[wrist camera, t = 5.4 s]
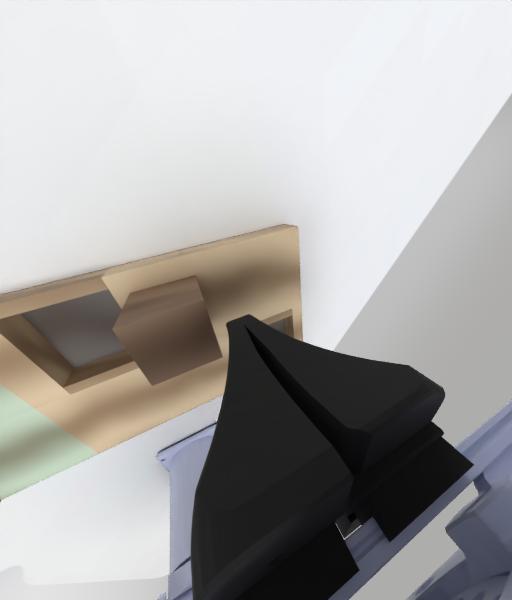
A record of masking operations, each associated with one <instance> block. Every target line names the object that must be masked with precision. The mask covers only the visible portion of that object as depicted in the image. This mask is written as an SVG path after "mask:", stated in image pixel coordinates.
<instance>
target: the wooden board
mask: <svg viewBox="0 0 512 600" xmlns="http://www.w3.org/2000/svg"><path fill="white" fill-rule="evenodd" d="M194 275H195V276H196V279H197V282H198V285H199V288H200V290H201V293H202V296H203V299H204V302H205V305H206V308H207V311H208V314H209V317H210V320H211V323H212V326H213V329H214V332H215V335H216V338H217V340H218V343H219V346H220V349H221V352H222V355H223V358H220V359H218V360H215V361H213V362H210V363H208V364H206V365H203V366H201V367H198V368H196V369H193V370H191V371H188V372H186V373H184V374H181V375H179V376H176V377H174V378H171V379H169V380H166V381H164V382H162V383H159V384H157V385H154V386H152V385H151V384H150V382H149V381H148V380H147V378H146V377H145V375H144V374H143V373H142V371H141V370H140V368H139V367H138V365H137V364H136V363H135V361H134V360H133V358H132V357H131V355H130V354H129V353H128V351H127V350H126V348H125V347H124V345H123V344H122V343H121V341H120V340H119V338H118V337H117V336H116V334H115V333H114V331H113V330H112V329H113V326H114V324H115V322H116V320H117V318H118V316H119V314H120V312H121V310H122V308H123V306H124V304H125V302H126V300H127V298H128V296H129V294H130V293H132V292H136V291H139V290H143V289H146V288H150V287H154V286H157V285H161V284H165V283H168V282H172V281H176V280H179V279H183V278H186V277H190V276H194ZM247 314H250V315H252V316H254V317H255V318H257V319H259V320H260V321H262V322H264V323H265V324H267V325H269V326H271V327H272V328H274V329H276V330H278V331H280V332H282V333H284V334H286V335H288V336H291V337H293V338H295V339H297V340H300V341H303V334H302V309H301V284H300V259H299V234H298V226H293V225H287V224H283V225H279V226H275V227H271V228H267V229H263V230H259V231H255V232H251V233H247V234H243V235H239V236H235V237H231V238H227V239H223V240H219V241H215V242H211V243H207V244H203V245H199V246H195V247H191V248H187V249H183V250H179V251H175V252H171V253H167V254H163V255H159V256H155V257H151V258H147V259H143V260H139V261H135V262H131V263H127V264H123V265H119V266H115V267H111V268H107V269H103V270H99V271H95V272H91V273H87V274H83V275H79V276H75V277H71V278H67V279H63V280H59V281H55V282H51V283H47V284H43V285H39V286H35V287H31V288H27V289H23V290H19V291H15V292H11V293H7V294H3V295H0V502H1V500H2V499H4V498H6V497H9V496H11V495H13V494H15V493H17V492H19V491H21V490H23V489H25V488H28V487H30V486H32V485H34V484H36V483H38V482H40V481H42V480H44V479H46V478H49V477H51V476H53V475H55V474H57V473H59V472H61V471H63V470H65V469H68V468H70V467H72V466H74V465H76V464H78V463H80V462H82V461H84V460H86V459H89V458H91V457H93V456H95V455H97V454H99V453H101V452H103V451H105V450H108V449H110V448H112V447H114V446H116V445H118V444H120V443H122V442H124V441H126V440H129V439H131V438H133V437H135V436H137V435H139V434H141V433H143V432H145V431H147V430H150V429H152V428H154V427H156V426H158V425H160V424H162V423H164V422H166V421H169V420H171V419H173V418H175V417H177V416H179V415H181V414H183V413H185V412H187V411H190V410H192V409H194V408H196V407H198V406H200V405H202V404H204V403H206V402H209V401H211V400H213V399H215V398H217V397H219V396H221V395H223V394H224V390H225V385H226V379H227V371H228V360H229V336H228V331H227V327H226V323H227V322H229V321H231V320H234V319H237V318H239V317H242V316H245V315H247Z"/></svg>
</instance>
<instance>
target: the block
mask: <svg viewBox="0 0 512 600" xmlns="http://www.w3.org/2000/svg"><path fill="white" fill-rule="evenodd" d="M112 330H113V331H114V333H115V334H116V336H117V337H118V338H119V340H120V341H121V343H122V344H123V345H124V347H125V348H126V350H127V351H128V353H129V354H130V355H131V357H132V358H133V360H134V361H135V363H136V364H137V365H138V367H139V368H140V370H141V371H142V373H143V374H144V375H145V377H146V378H147V380H148V381H149V382H150V384H151V385H152V386H154V385H157V384H159V383H162V382H164V381H166V380H169V379H171V378H174V377H176V376H179V375H181V374H184V373H186V372H188V371H191V370H193V369H196V368H198V367H201V366H203V365H206V364H208V363H210V362H213V361H215V360H218V359H220V358H223V355H222V352H221V349H220V346H219V343H218V340H217V338H216V335H215V332H214V329H213V326H212V323H211V320H210V317H209V314H208V311H207V308H206V305H205V302H204V299H203V296H202V293H201V290H200V288H199V285H198V282H197V279H196V276H195V275H194V276H190V277H186V278H183V279H179V280H176V281H172V282H168V283H165V284H161V285H157V286H154V287H150V288H146V289H143V290H139V291H136V292H132V293H130V294H129V296H128V298H127V300H126V302H125V304H124V306H123V308H122V310H121V312H120V314H119V316H118V318H117V320H116V322H115V324H114V326H113V329H112Z"/></svg>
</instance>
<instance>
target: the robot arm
mask: <svg viewBox="0 0 512 600" xmlns="http://www.w3.org/2000/svg"><path fill="white" fill-rule="evenodd" d="M226 327H227V331H228V336H229V360H228V371H227V379H226V385H225V390H224V395H223V400H222V405H221V409H220V413H219V417H218V421H217V424H215V425H213V426H211V427H209V428H207V429H205V430H203V431H201V432H199V433H197V434H195V435H194V436H192V437H190V438H188V439H186V440H184V441H182V442H180V443H178V444H176V445H174V446H172V447H170V448H168V449H166V450H164V451H162V452H160V453H159V454H158V455H157V461H158V462H159V463H161V464H162V465H163V466H164V467H165V468H166V469H167V470H168V471H169V472H170V575H169V578H168V600H349V599H350V598H351V597H352V596H353V595H354V594H355V593H356V592H357V591H358V590H359V589H360V588H361V587H362V586H363V585H364V584H366V582H367V581H369V580H370V579H371V578H372V577H373V576H374V575H375V574H376V573H377V572H378V571H379V570H380V569H381V568H382V567H383V566H384V565H385V564H386V563H387V562H388V561H390V560H391V558H393V557H394V556H395V555H396V554H397V553H398V552H399V551H400V550H401V549H402V548H403V547H404V546H405V545H406V544H407V543H409V542H410V540H412V539H413V538H414V537H415V536H416V535H417V534H418V533H419V532H420V531H421V530H422V529H423V528H424V527H425V526H426V525H427V524H428V523H429V522H431V521H432V519H434V518H435V517H436V516H437V515H438V514H439V513H440V512H441V511H442V510H443V509H444V508H445V507H446V506H447V505H448V504H449V503H450V502H451V501H453V500H454V499H455V498H456V497H457V496H458V495H459V494H460V493H461V492H462V491H463V490H464V489H465V488H466V487H467V486H468V485H469V484H470V483H471V482H472V481H474V485H475V487H476V489H477V490H478V493H479V496H477V497H476V498H475V499H474V500H472V501H471V502H470V503H469V504H467V505H466V506H465V507H463V508H462V509H461V510H460V511H459V512H458V513H457V514H456V515H455V516H454V517H453V519H452V520H451V521H450V522H449V524H448V525H447V526H446V527H445V529H446V533H447V534H448V535H449V536H450V538H451V539H452V540H453V541H454V542H455V543H456V545H457V546H458V547H459V549H458V550H457V551H456V552H455V553H454V554H453V555H452V556H451V557H450V558H449V559H448V560H447V561H446V562H445V563H444V564H443V565H442V566H441V567H440V568H438V569H437V570H436V571H435V572H434V573H433V574H432V575H431V576H430V577H429V578H428V579H427V580H426V581H425V582H424V583H423V584H422V585H421V586H420V587H419V588H418V589H417V590H415V592H413V593H412V594H411V595H410V596H409V597H408V598H407V599H406V600H512V400H511V401H509V402H508V404H506V405H505V406H503V407H502V408H501V409H500V410H499V411H498V412H496V413H495V414H494V415H493V416H492V417H490V418H489V419H488V420H487V421H486V422H485V423H483V424H482V425H481V426H480V427H479V428H477V429H476V430H475V431H474V432H473V433H471V434H470V435H469V436H468V437H467V438H466V439H464V440H463V441H462V442H461V443H459V444H458V445H457V446H456V447H455V448H454V447H453V446H452V445H451V444H449V443H448V442H447V441H446V440H445V439H443V438H442V437H441V436H442V435H443V434H444V432H443V431H442V430H441V429H440V428H439V427H438V426H437V425H435V424H434V423H433V422H432V421H431V420H432V419H433V417H434V416H435V414H436V412H437V411H438V409H439V407H440V406H441V404H442V402H443V400H444V398H445V392H444V389H443V388H442V387H440V386H439V385H438V384H436V383H435V382H433V381H432V380H430V379H429V378H427V377H425V376H424V375H423V374H421V373H419V372H418V371H417V370H415V369H413V368H412V367H410V366H409V365H402V364H395V363H389V362H382V361H375V360H369V359H364V358H359V357H355V356H350V355H346V354H341V353H337V352H334V351H330V350H327V349H323V348H320V347H317V346H314V345H311V344H308V343H305V342H303V341H300V340H297V339H295V338H293V337H291V336H288V335H286V334H284V333H282V332H280V331H278V330H276V329H274V328H272V327H271V326H269V325H267V324H265V323H264V322H262V321H260V320H259V319H257V318H255V317H254V316H252V315H250V314H247V315H245V316H242V317H239V318H237V319H234V320H231V321H229V322H227V323H226ZM335 523H336V524H337V525H336V524H335ZM360 525H362V526H361V527H360V528H358V529H357V530H356V531H355V532H354V533H352V534H351V535H350V536H349V537H348V538H347V539H345V540H344V539H343V537H344V538H345V537H347V536H348V535H349V534H350V533H351V532H353V531H354V530H355V529H356V528H357V527H359V526H360ZM337 526H338V527H337ZM338 528H339V529H340V531H339V529H338ZM340 532H341V533H342V535H343V537H342V535H341V533H340ZM158 600H166V593H163V594H161V595H160V596H159V597H158Z"/></svg>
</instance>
